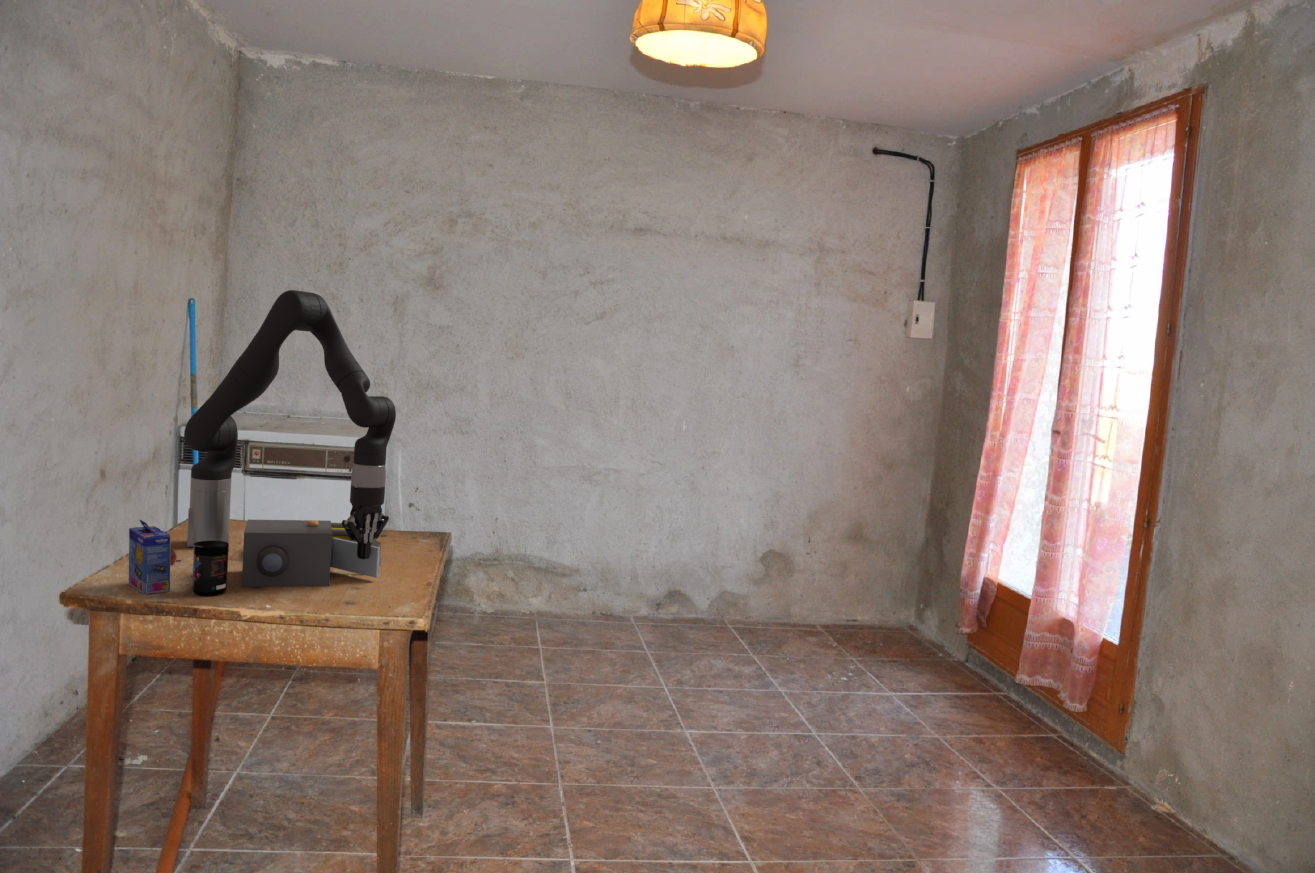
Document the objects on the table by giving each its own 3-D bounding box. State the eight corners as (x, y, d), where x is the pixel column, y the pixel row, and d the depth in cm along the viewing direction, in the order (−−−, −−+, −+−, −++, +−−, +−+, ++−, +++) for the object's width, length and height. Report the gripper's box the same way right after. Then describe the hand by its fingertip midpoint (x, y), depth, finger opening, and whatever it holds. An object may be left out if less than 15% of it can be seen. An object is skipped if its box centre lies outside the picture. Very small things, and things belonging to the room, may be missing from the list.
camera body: (240, 590, 202) (243, 530, 201) (245, 570, 218) (247, 515, 216) (329, 589, 208) (332, 531, 207) (327, 570, 224) (330, 516, 223)
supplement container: (207, 586, 203) (209, 538, 202) (234, 591, 201) (236, 543, 200) (184, 593, 196) (186, 544, 195) (211, 598, 195) (213, 549, 194)
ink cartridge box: (126, 584, 200) (128, 516, 198) (154, 580, 204) (156, 514, 202) (142, 595, 193) (144, 525, 191) (170, 591, 197) (173, 523, 195)
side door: (376, 577, 217) (377, 548, 217) (329, 566, 224) (330, 537, 223) (380, 576, 219) (381, 547, 218) (333, 565, 225) (335, 536, 224)
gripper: (376, 479, 222) (372, 551, 224) (334, 483, 210) (329, 559, 212) (401, 483, 219) (396, 557, 220) (359, 488, 207) (354, 565, 208)
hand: (363, 558), depth 216 cm, fingers closed
